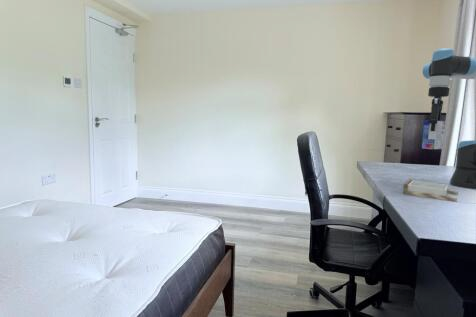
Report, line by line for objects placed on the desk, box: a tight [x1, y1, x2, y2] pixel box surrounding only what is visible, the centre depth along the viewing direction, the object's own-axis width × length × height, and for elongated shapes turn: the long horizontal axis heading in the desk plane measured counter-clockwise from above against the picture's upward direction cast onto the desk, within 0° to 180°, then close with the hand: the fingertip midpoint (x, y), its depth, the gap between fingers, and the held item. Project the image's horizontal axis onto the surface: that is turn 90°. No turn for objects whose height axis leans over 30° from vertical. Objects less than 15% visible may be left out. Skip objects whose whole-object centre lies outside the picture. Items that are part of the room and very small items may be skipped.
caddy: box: [407, 179, 449, 196], centre depth 143 cm, size 14×14×4 cm
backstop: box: [402, 178, 459, 202], centre depth 143 cm, size 20×16×4 cm
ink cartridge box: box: [421, 114, 446, 150], centre depth 141 cm, size 10×6×14 cm, turn 128°
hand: (433, 138), depth 141 cm, fingers closed on ink cartridge box, 10 cm apart
